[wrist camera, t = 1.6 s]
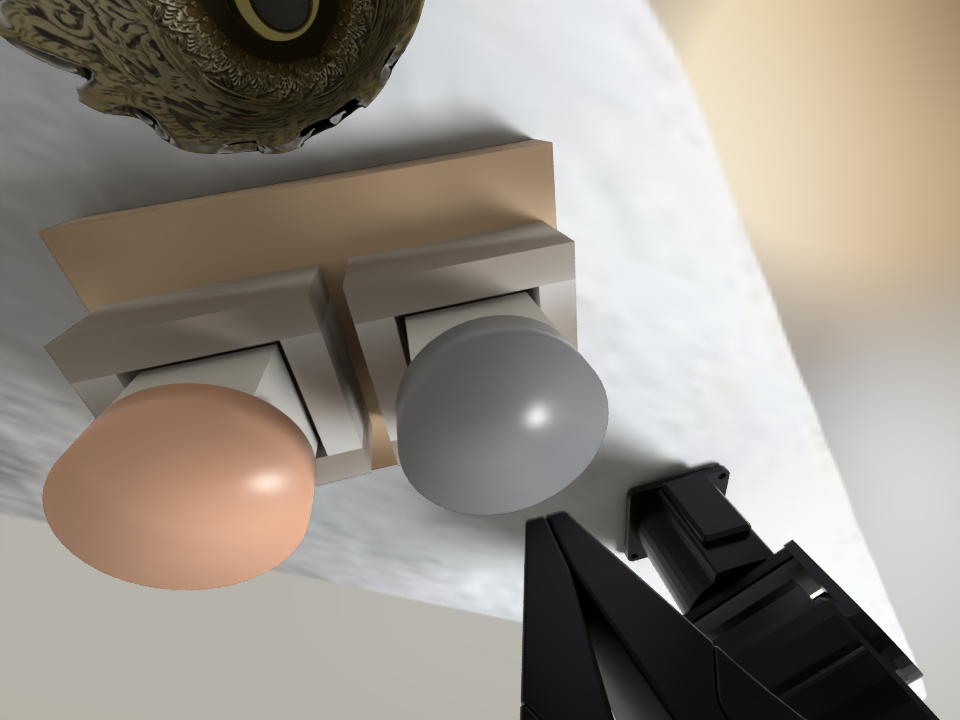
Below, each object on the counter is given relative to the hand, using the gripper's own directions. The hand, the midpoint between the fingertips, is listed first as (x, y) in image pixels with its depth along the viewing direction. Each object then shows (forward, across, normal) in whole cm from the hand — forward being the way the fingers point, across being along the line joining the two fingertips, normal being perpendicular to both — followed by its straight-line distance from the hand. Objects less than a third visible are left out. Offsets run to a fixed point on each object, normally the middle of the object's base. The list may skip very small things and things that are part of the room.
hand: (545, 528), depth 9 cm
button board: (+12, +4, 0) cm, 12 cm away
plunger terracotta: (+7, +8, 0) cm, 11 cm away
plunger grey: (+7, 0, 0) cm, 7 cm away
